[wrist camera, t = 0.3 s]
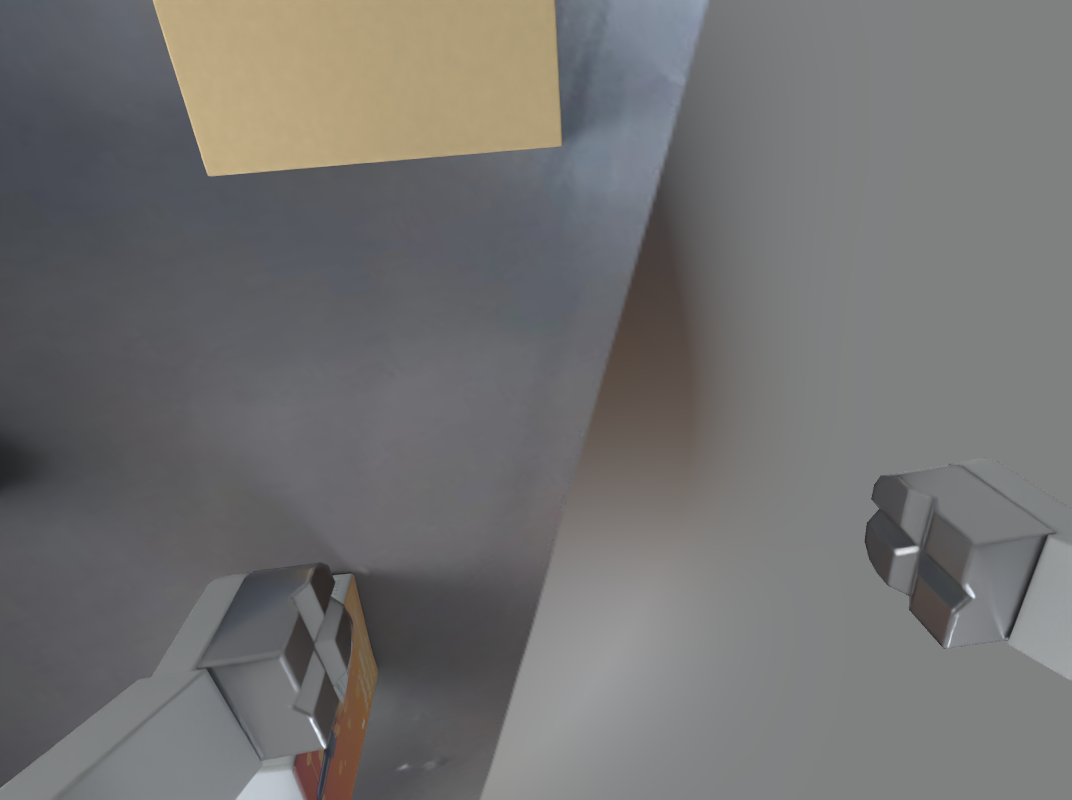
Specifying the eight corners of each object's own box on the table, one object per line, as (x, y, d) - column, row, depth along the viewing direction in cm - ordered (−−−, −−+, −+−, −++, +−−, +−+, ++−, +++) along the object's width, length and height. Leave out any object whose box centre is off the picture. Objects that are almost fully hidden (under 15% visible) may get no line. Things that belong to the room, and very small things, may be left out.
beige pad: (187, -22, 18) (136, -48, 16) (542, -47, 19) (551, -77, 16) (242, 171, 21) (207, 176, 18) (553, 144, 22) (562, 146, 19)
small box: (380, 669, 33) (338, 880, 24) (285, 679, 33) (206, 896, 24) (355, 569, 30) (295, 769, 21) (250, 578, 30) (139, 786, 20)
